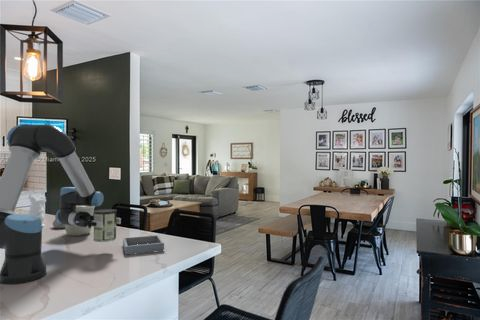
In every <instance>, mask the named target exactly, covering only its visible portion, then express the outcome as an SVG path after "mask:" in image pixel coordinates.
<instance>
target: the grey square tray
mask: <svg viewBox="0 0 480 320" xmlns="http://www.w3.org/2000/svg"><path fill="white" fill-rule="evenodd" d="M156 242H157V243H156ZM147 243H151V244H147ZM137 244H143V245H137ZM128 245H129V246H128ZM122 247H123V250H124V255H125V256H128V255H127V254H132V255H136V254H135V253H141V254H146V253H145V252H151V253H155V252H154V251H161V252H164V251H165V242H164V241H163V240H162V238H161V237H160V235H159V234H155V235H143V236H141V235H140V236H131V237H123V238H122ZM163 250H164V251H163Z"/></svg>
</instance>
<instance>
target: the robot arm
mask: <svg viewBox="0 0 480 320" xmlns="http://www.w3.org/2000/svg"><path fill="white" fill-rule="evenodd" d="M6 141H7V142H6V144H7V146H8V150H9V152H10V155H9V158H8V160H7V163H6V165H5V167H4V170H3V172H2V174H1V177H0V249H2V250H3V249H4V260H3V264H2V265H1V268H0V283H1V284H6V285H7V284H8V285H14V284H23V283H28V282H29V283H30V282H32V281H35V280H39V279H41V278H43V277H45V276H46V275H47V266H46V263H45V260H44V257H43V256H42V243H43V238H42V237H43V235H42V233H43V227H42V223H41V219H40V218H39V217H38V216H35V215H30V214H29V213H24V214H23V213H15V209H16V207H17V204H18V202H19V199H20V197H21V194H22V191H23V189H24V187H25V184H26V181H27V178H28V176H29V173H30V171H31V168H32V166H33V163H34V161H35V160H36V159H39V158H40V156H41V153H42V152H46V151H47V152H50V153H51V154H52V156H53V157H54V158H56V159H58V161H59V163H60V164H61V166H62V168H63V169H64V171H65V173H66V175H67V176H68V178H69V179H70V181H71V183H72V185H73V186H65V187H61V188H60V193H59V194H60V195H59V210H57V212H56V214H55V215H54V220H55V219H56V221H57V222H58V223H61V224H64V225H74V226H75V227H77V226H80V227H87V226H88V228H91V226H92V227H93V228H94V227H100V228H102V227H103V222H102V221H94V215H93V216H91V215H90V214H89V213H88V212H82V211H76V206H95V207H99V206H101V205H102V204H103V202H104V193H102V192H101V191H96V190H95V188H94V185H93V183H92V181H91V180H90V178H89V176H88V174H87V172H86V170H85V168H84V166H83V164H82V162H81V161H80V159H79V156H78V154H77V153H76V149H77V147H76V145H75V143H74V142H73V141H72V139H71V138H70V137H69V136H68V134H66V132H64V130H62V129H60V128H59V127H57V126H55V125H53V124H48V123H47V124H44V123H43V124H29V123H28V124H27V123H25V124H18V125H15V126H13V127H12V128H10V130H9V131H8V132H7V135H6ZM121 221H122V218H120V217H116V225H122V224H121V223H122V222H121ZM91 229H92V228H91Z"/></svg>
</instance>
